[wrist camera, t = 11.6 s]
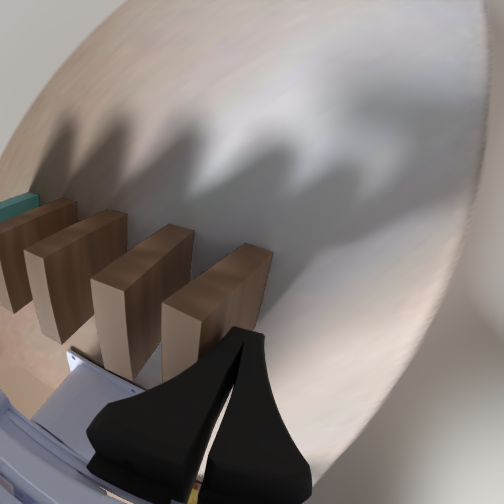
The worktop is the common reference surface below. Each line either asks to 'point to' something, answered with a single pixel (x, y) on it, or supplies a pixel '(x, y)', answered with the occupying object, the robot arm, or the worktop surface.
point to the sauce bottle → (194, 493)
